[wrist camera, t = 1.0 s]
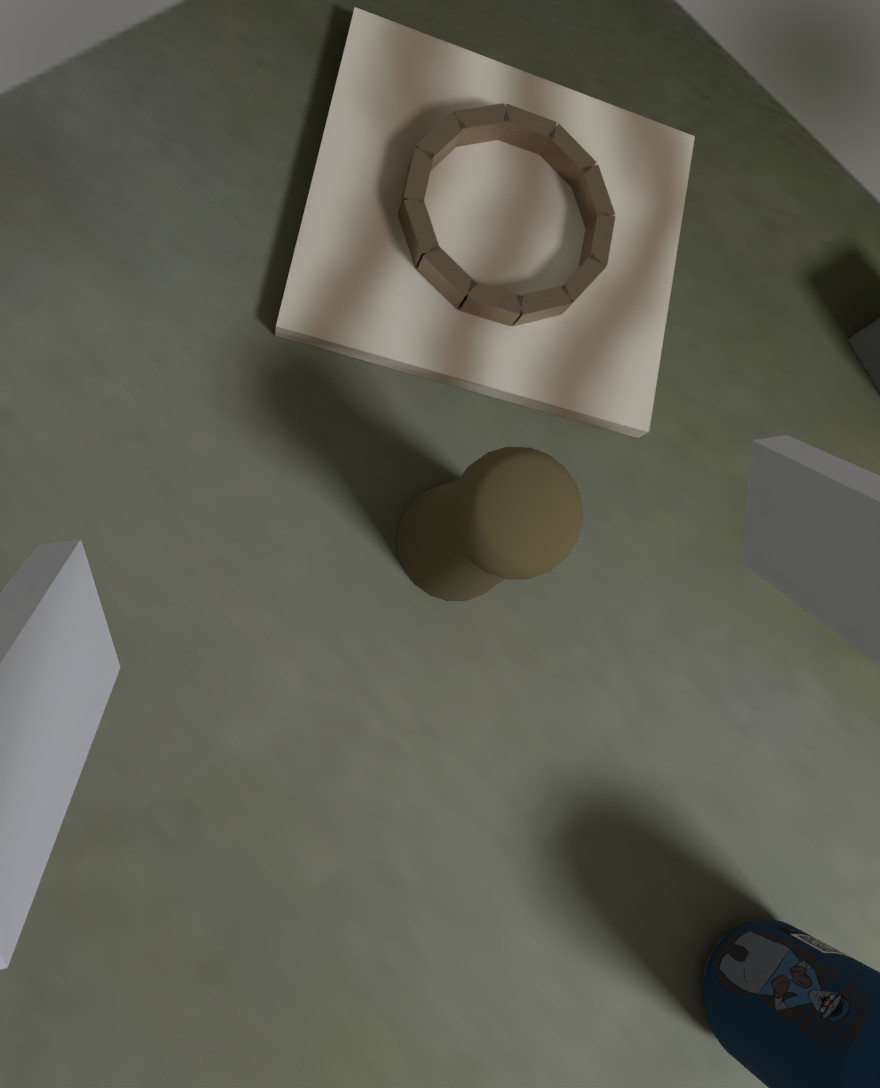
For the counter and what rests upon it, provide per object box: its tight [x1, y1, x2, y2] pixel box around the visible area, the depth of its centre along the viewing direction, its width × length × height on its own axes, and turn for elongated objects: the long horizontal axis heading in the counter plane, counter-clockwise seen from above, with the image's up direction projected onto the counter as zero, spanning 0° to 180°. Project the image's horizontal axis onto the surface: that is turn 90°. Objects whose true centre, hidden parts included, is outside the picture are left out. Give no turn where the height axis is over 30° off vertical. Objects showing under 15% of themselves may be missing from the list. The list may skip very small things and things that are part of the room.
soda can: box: [703, 920, 880, 1088], centre depth 34 cm, size 7×7×12 cm
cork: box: [397, 447, 583, 601], centre depth 34 cm, size 6×6×11 cm
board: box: [275, 7, 695, 438], centre depth 41 cm, size 20×18×1 cm
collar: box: [398, 103, 615, 326], centre depth 40 cm, size 11×11×2 cm
